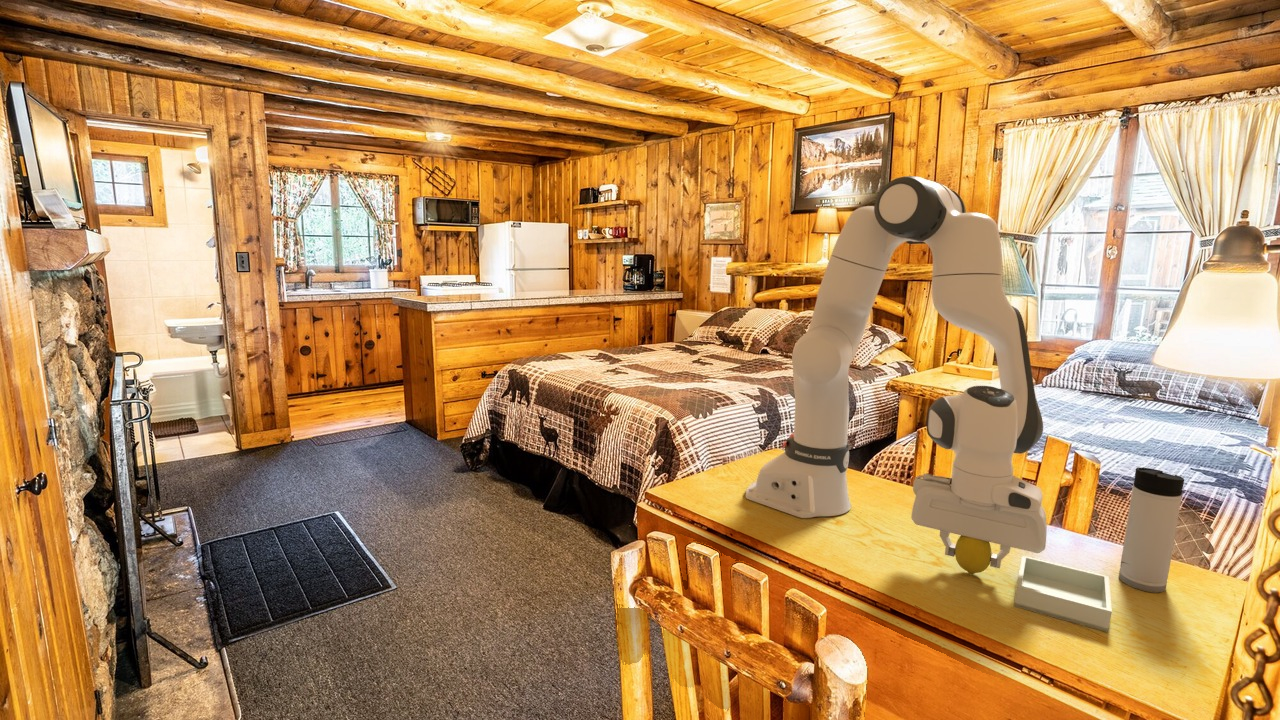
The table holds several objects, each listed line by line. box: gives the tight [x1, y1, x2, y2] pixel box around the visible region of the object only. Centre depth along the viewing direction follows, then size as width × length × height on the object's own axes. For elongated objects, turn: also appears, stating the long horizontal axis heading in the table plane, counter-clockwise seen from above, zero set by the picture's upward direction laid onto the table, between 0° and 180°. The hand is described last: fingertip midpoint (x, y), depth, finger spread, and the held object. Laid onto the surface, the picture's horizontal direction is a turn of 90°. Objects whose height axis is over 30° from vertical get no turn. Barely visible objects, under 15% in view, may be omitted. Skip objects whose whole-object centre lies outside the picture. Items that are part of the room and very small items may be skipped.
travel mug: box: [1118, 467, 1185, 593], centre depth 104 cm, size 6×7×20 cm
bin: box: [1013, 554, 1113, 634], centre depth 100 cm, size 12×12×3 cm
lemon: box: [954, 535, 992, 575], centre depth 108 cm, size 6×6×8 cm
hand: (972, 560), depth 108 cm, fingers closed on lemon, 5 cm apart
